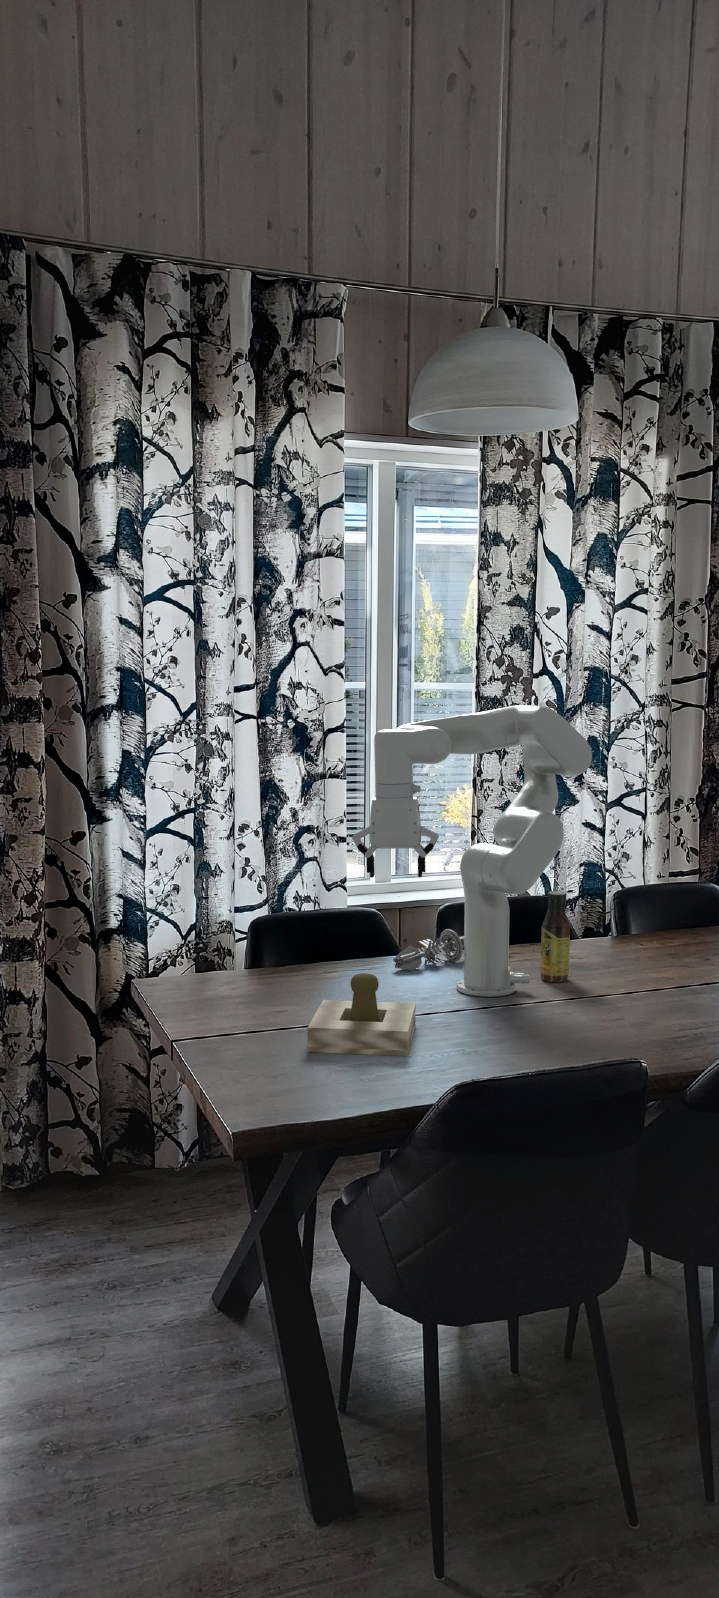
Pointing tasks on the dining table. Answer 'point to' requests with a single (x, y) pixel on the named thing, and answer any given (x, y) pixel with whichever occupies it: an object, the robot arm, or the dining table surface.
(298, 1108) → the dining table surface
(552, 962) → the sauce bottle
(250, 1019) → the dining table surface
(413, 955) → the spaceship
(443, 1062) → the dining table surface
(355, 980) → the cork
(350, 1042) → the socket block
